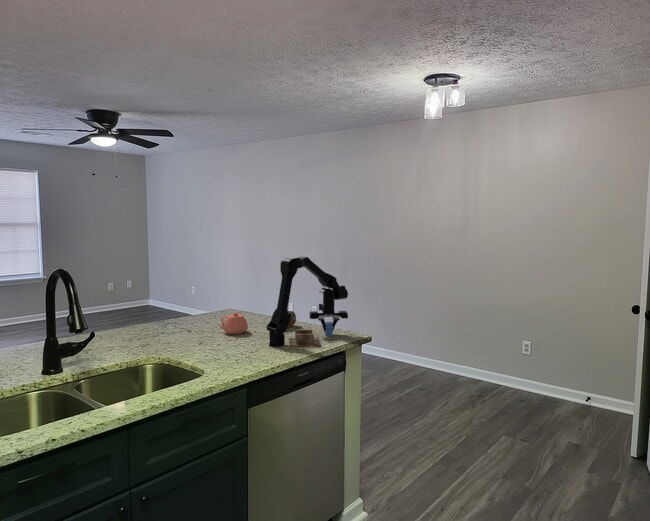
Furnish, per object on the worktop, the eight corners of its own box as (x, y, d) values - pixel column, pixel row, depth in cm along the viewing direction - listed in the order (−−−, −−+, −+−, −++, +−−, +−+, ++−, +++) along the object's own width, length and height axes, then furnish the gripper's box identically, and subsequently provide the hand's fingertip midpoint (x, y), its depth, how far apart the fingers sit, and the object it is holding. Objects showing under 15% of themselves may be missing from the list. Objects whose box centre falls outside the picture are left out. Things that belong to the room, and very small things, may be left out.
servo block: (326, 337, 225) (326, 325, 225) (324, 332, 234) (324, 321, 234) (333, 337, 226) (333, 325, 225) (330, 332, 235) (330, 321, 234)
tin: (277, 330, 238) (277, 314, 238) (273, 329, 240) (273, 313, 240) (296, 325, 250) (296, 310, 250) (292, 324, 252) (292, 309, 252)
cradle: (289, 347, 208) (289, 336, 207) (288, 339, 222) (288, 328, 221) (320, 346, 210) (320, 335, 209) (317, 338, 223) (317, 328, 223)
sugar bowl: (245, 336, 227) (245, 315, 226) (217, 335, 227) (216, 315, 227) (250, 330, 239) (249, 310, 238) (223, 329, 240) (222, 310, 239)
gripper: (344, 297, 238) (344, 327, 239) (308, 298, 235) (308, 328, 237) (348, 301, 227) (348, 333, 228) (310, 302, 224) (310, 333, 226)
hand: (328, 331), depth 230 cm, fingers closed on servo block, 3 cm apart
